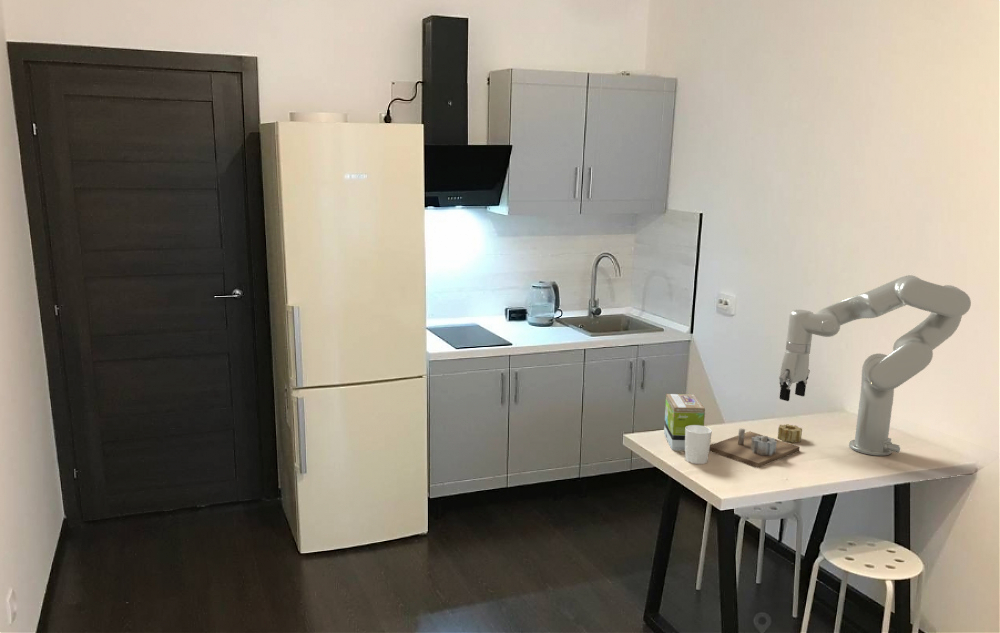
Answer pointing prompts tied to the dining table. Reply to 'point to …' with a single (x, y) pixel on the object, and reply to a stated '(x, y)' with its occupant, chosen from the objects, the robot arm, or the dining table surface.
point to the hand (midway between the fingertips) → (792, 397)
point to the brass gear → (789, 433)
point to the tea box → (681, 417)
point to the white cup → (697, 443)
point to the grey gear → (763, 446)
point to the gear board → (742, 451)
